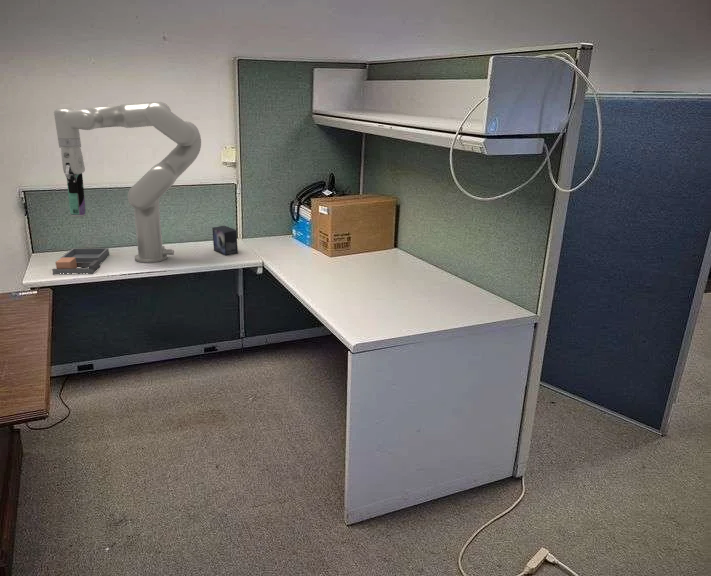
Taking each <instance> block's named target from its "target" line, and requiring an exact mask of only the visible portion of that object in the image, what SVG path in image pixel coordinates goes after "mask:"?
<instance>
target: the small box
mask: <svg viewBox="0 0 711 576" xmlns="http://www.w3.org/2000/svg"><path fill="white" fill-rule="evenodd" d="M211 228H212V242H213V251H214V252H217V253H219V254H221V255H223V256H232V255H236V254H237V255H238V254H239V252H238V250H239V249H238V236H237V235H238V233H237V232H238V231H237V229H235V228H232V227H229V226H227V225H219V226H214V227H211Z"/></svg>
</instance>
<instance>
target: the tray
mask: <svg viewBox="0 0 711 576" xmlns="http://www.w3.org/2000/svg"><path fill="white" fill-rule="evenodd" d="M109 250H110V249H109V247H89V248H88V247H85V248H84V247H83V248H82V247H76V248H71V249H70V250H69V251H67V252H66V253H64V254H63V255H62V256H60V258H67V257H76V262H93V261H94V260H98V261H99V262H100V265H101V264H102V263H103V262H105V260H106V259H107V258H109V256H110V251H109ZM101 262H102V263H101Z"/></svg>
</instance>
